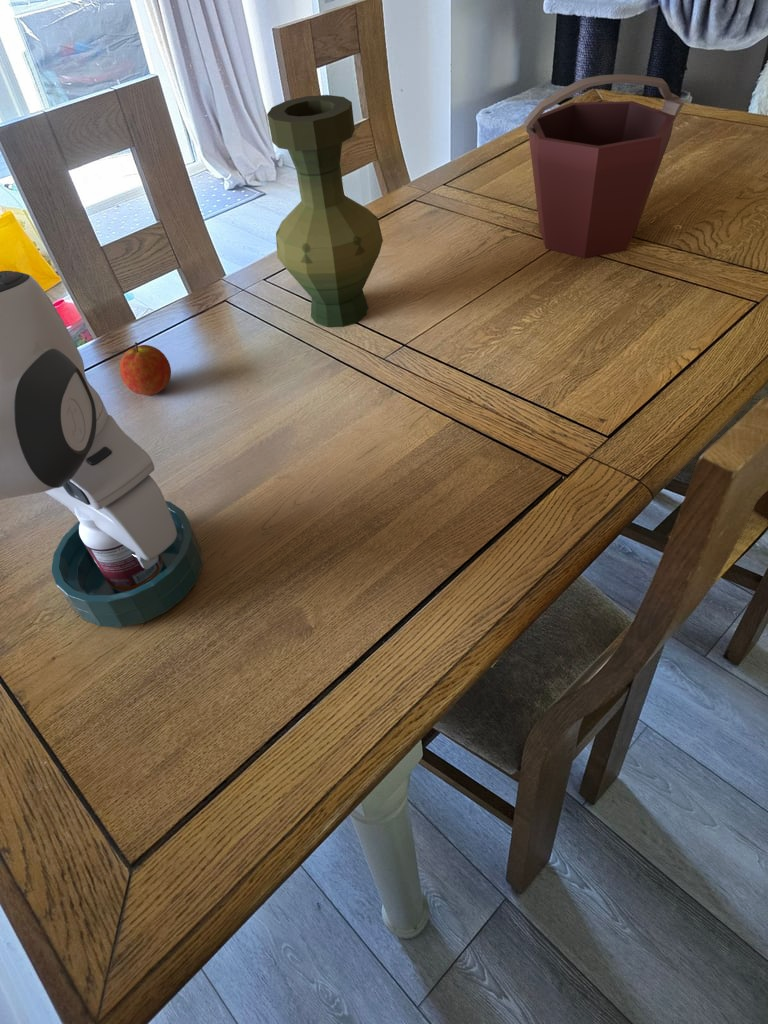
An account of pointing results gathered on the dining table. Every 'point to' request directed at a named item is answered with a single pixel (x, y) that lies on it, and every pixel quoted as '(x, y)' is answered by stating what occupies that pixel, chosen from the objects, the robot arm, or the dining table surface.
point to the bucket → (596, 165)
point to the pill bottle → (114, 557)
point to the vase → (324, 211)
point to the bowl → (139, 605)
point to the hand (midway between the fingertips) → (120, 543)
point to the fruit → (145, 370)
